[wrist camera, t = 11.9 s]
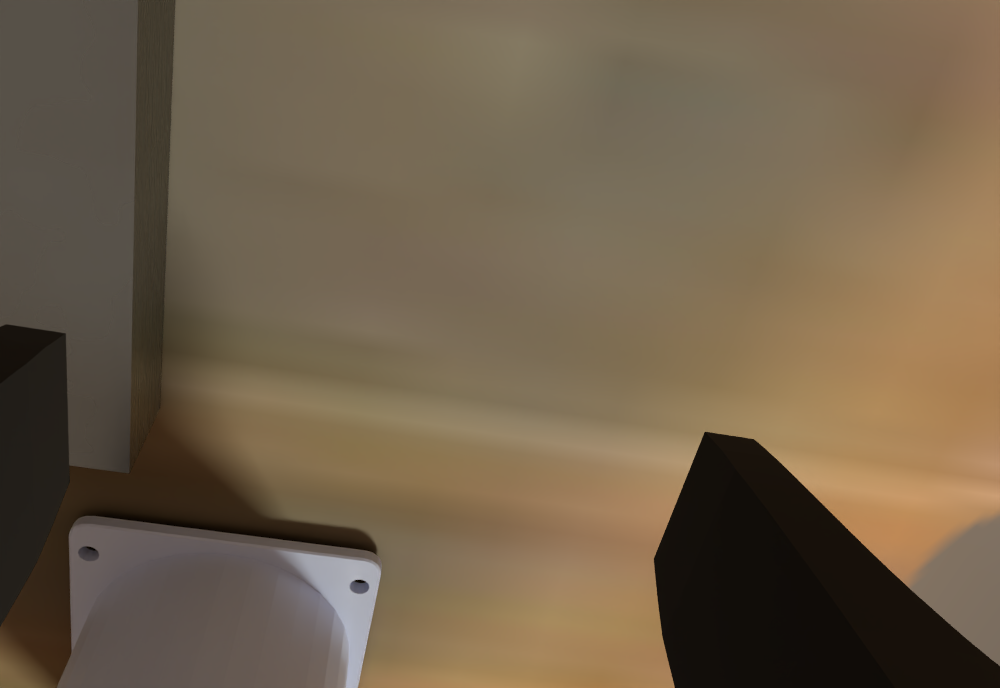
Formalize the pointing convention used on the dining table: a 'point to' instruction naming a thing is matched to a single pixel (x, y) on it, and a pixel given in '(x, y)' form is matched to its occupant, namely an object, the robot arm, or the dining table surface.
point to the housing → (89, 204)
